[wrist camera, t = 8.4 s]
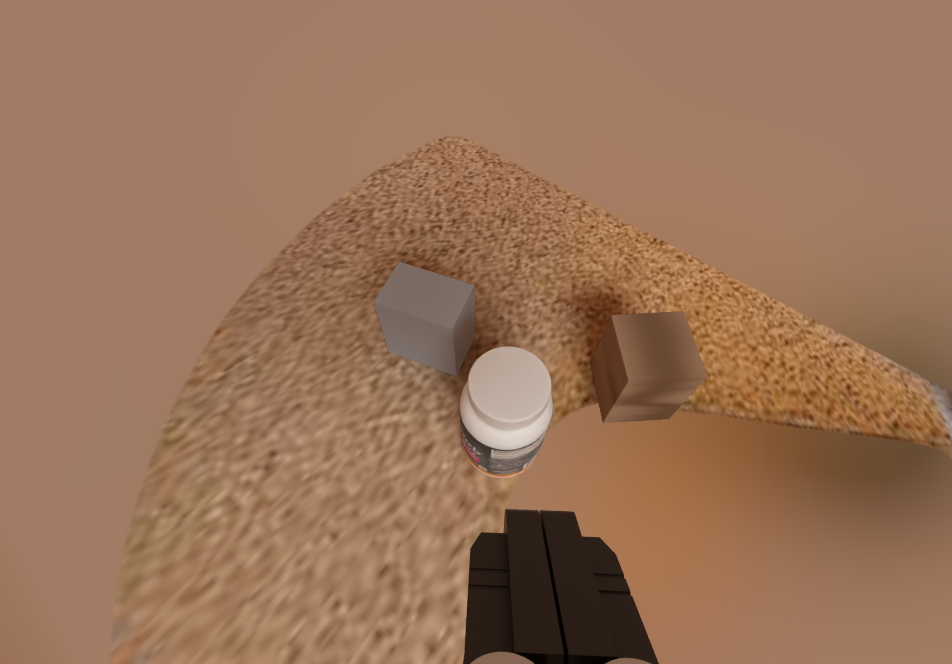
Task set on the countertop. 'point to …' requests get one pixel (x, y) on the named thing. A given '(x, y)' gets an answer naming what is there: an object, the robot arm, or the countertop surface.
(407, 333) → the slate block
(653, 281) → the countertop surface
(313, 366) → the countertop surface
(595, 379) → the walnut block
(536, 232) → the countertop surface
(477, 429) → the pill bottle
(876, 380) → the countertop surface
